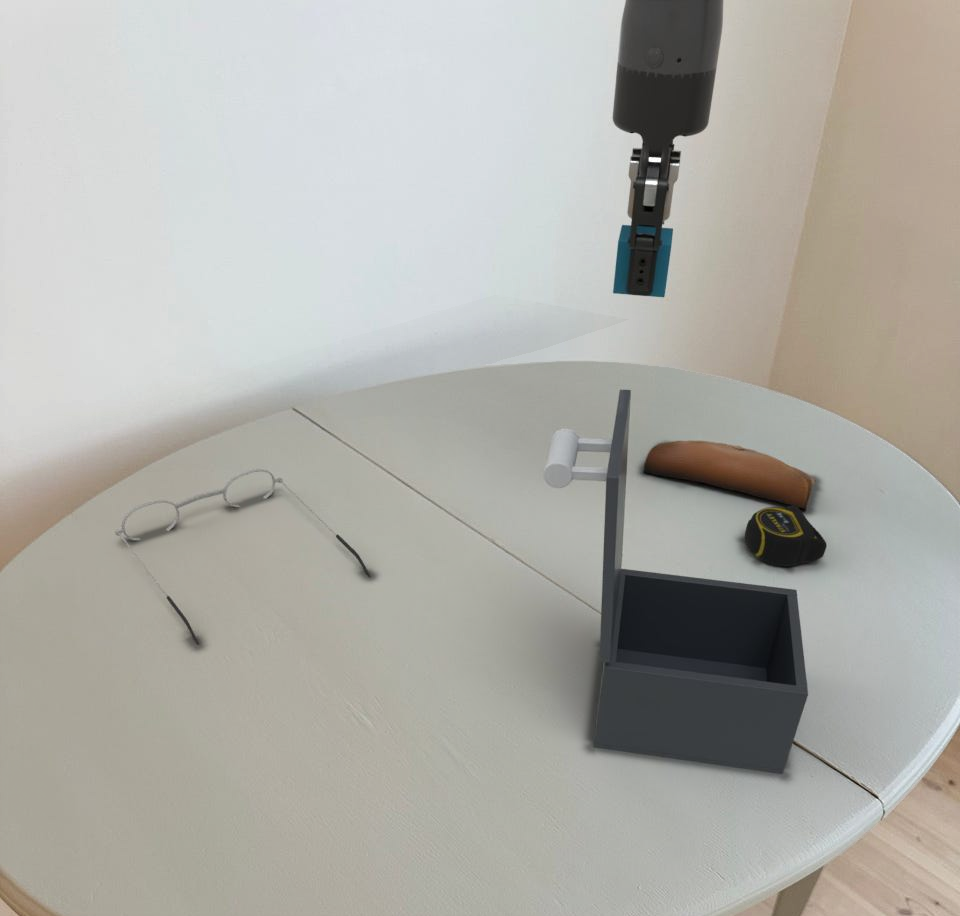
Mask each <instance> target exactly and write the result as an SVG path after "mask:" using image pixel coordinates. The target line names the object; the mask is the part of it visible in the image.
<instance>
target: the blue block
mask: <svg viewBox="0 0 960 916" xmlns="http://www.w3.org/2000/svg"><path fill="white" fill-rule="evenodd" d="M630 231H631V224H621V227H620V231H619V235H618V241H617V249H616V260H615V269H614V270H615V271H614V278H613V289H612V294H616V295H628V296H631V295H630V294H628V293H627V290H626V288H627V279H628V270H629V261H630V252H631V250H629V245H628V237H630ZM655 232H656V227H646V226H638V230H637V233H642V234H655ZM673 235H674V228H671V227H662V231H661V238H660V240H662V245H661V247H659V252H657V260H656V268H655V276H654V284H653V291H652V293H651V295H649V296H648V297H653V298H654V297H655V298H665V296H666V289H667V282H668V273H669V267H670V259H671V252H672V243H673Z"/></svg>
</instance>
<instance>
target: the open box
mask: <svg viewBox="0 0 960 916" xmlns="http://www.w3.org/2000/svg"><path fill="white" fill-rule="evenodd" d="M798 600H799V599H798V591H797V589H795V588H794V589H793V588H784V587H775V586H768V585H760V584H753V583H743V582H735V581H727V580H721V579H719V580H718V579H711V578H703V577H702V578H701V577H694V576H685V575H679V574H677V575H676V574H670V573H669V574H668V573H662V572H661V573H660V572H652V571H643V570H636V569H627V568H621V575H620V584H619V592H618V601H617V609H616V618H615V627H614V635H613V644H612V652H611V661H610V663H609V662H603V665H602V673H601V681H600V688H599V697H598V706H597V713H596V721H595V729H594V737H593V746H592V747H593V748H594V749H595V748H596V749H602V750H610V751H617V752H622V753H623V752H624V753H631V754H637V755H645V756H652V757H658V758H665V759H674V760H679V761H686V762H693V763H700V764H701V763H702V764H708V765H715V766H722V767H729V768H735V769H742V770H749V771H757V772H763V773H770V774H777V775H783V773H784V770H785V767H786V764H787V761H788V758H789V755H790V752H791V749H792V746H793V743H794V740H795V736H796V733H797V731H798V727H799V724H800V722H801V718H802V715H803V712H804V709H805V706H806V703H807V699H808V698H809V697H808V696H809V688H808V680H807V672H806V662H805V661H806V660H805V654H804V646H803V637H802V636H803V634H802V626H801V617H800V609H799V601H798Z"/></svg>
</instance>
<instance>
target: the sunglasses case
mask: <svg viewBox="0 0 960 916" xmlns="http://www.w3.org/2000/svg"><path fill="white" fill-rule="evenodd" d="M643 473H645V474H651V475H657V476H661V477H668V478H674V479H677V480H678V479H679V480H682V479H683V480H687V481H689V482H698V483H704V484H707V485H710V486H714V487H718V488H722V489H725V490H729V491H736V492H740V493H744V494H747V495H750V496H753V497H757V498H763V499H767V500H770V501H775V502H778V503H782V504H786V505H789V506H796V507H798V508H799V509H800V508H801V509H802V510H803V511H805V512H807V507H808V502H809V499H810V496H811V493H812V490H813V485H814V484H815V482H816V479H815V478H814V477H812V476H811V475H809V474H808V473H806V472H805V471H803V470H801V469H799V468H797V467H794V466H791V465H789V464H788V463H785V462H784V461H782V460H780V459H778V458H776V457H774V456H771V455H769V454H767V453H763V452H759V451H757V450H754V449H750V448H744V447H742V446H740V445H732V444H729V443H724V442H715V441H714V442H713V441H707V440H675V441H667V442H661V443H658V444H656V445H654V446H652V447H651V449H650V450H649V451H648V453H647V456H646V458H645V462H644V465H643Z"/></svg>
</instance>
